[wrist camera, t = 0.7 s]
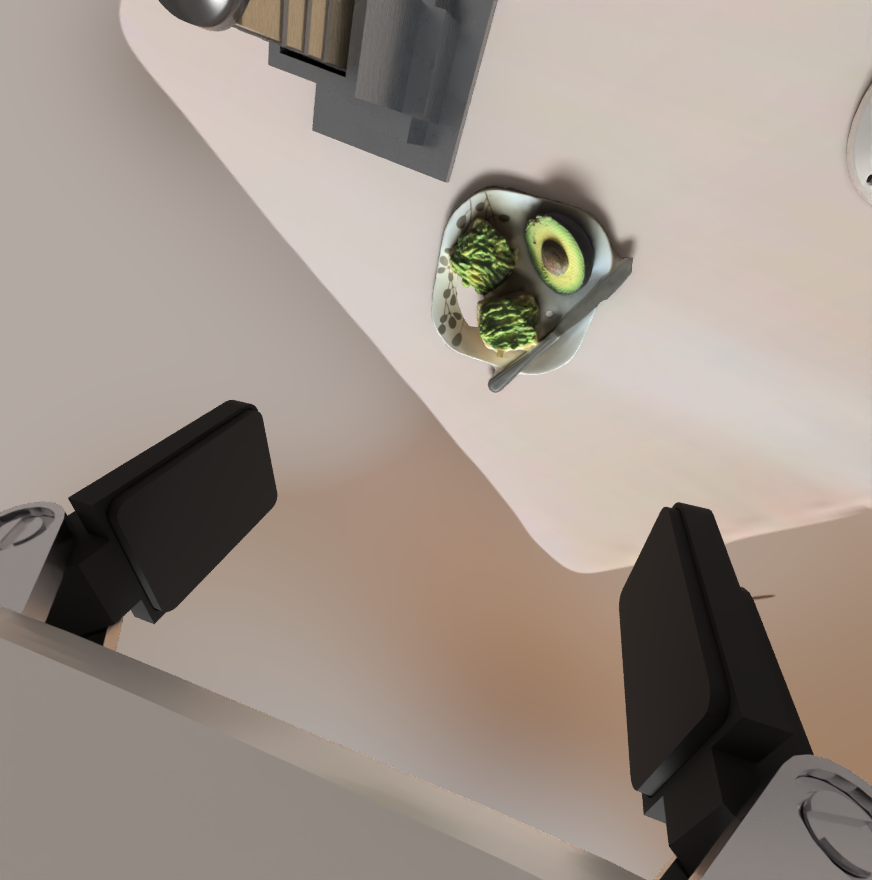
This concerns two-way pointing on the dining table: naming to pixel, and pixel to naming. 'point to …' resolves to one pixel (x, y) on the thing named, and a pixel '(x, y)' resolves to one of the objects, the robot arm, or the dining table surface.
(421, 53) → the stand
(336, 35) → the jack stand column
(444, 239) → the salad plate
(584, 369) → the dining table surface
